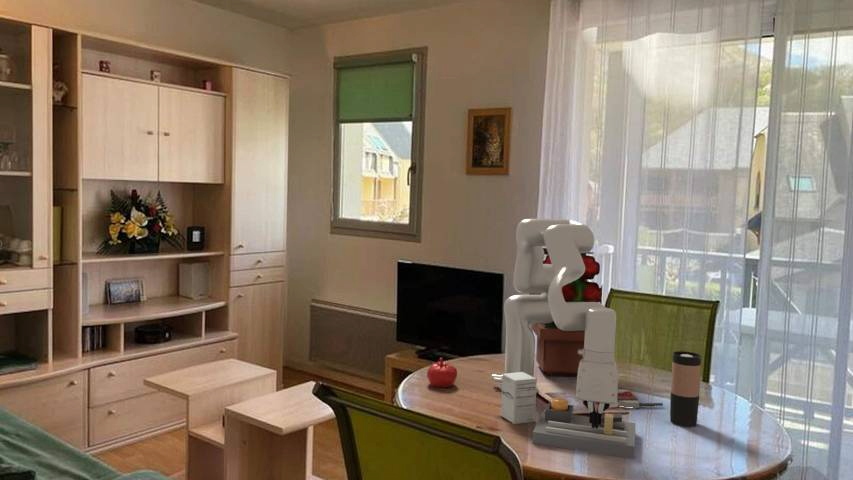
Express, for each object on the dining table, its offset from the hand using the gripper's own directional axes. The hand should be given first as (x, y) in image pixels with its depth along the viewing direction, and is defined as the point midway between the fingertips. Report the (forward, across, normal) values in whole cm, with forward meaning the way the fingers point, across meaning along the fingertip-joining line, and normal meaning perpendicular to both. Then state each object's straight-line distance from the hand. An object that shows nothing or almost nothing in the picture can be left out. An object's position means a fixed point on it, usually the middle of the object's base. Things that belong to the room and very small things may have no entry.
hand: (595, 426), depth 165 cm
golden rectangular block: (+2, +3, 0) cm, 4 cm away
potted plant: (+6, -18, +70) cm, 73 cm away
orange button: (0, -10, +9) cm, 14 cm away
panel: (+5, -3, +4) cm, 7 cm away
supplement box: (+6, -22, +12) cm, 26 cm away
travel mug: (+6, +22, +29) cm, 37 cm away
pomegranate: (+6, -53, +35) cm, 63 cm away
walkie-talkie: (+6, +7, +40) cm, 41 cm away
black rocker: (0, +4, +9) cm, 10 cm away
